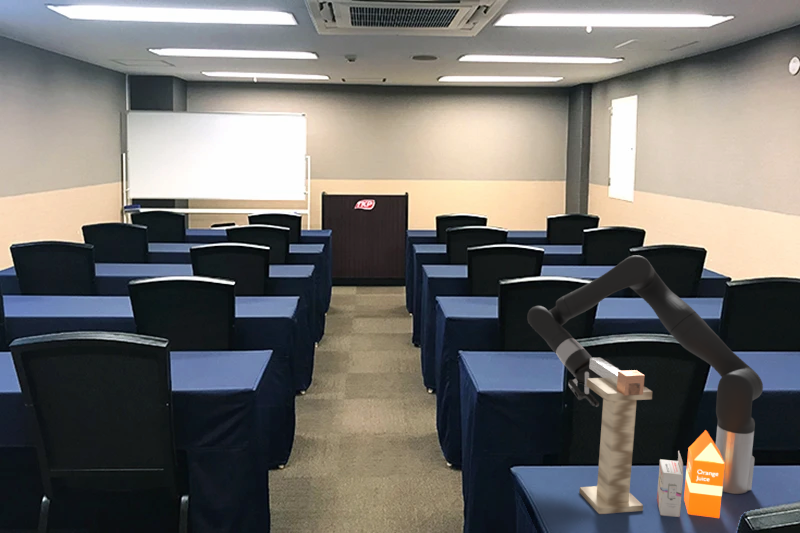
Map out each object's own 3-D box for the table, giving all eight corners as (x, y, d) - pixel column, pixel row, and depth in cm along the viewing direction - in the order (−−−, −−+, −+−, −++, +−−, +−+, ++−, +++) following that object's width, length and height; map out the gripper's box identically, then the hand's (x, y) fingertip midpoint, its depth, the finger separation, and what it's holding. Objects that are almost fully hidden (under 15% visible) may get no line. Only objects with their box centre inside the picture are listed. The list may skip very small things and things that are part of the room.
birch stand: (620, 489, 207) (629, 376, 201) (642, 510, 195) (652, 391, 190) (579, 492, 204) (586, 378, 199) (599, 514, 193) (607, 393, 187)
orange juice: (687, 514, 194) (694, 440, 190) (683, 498, 202) (689, 427, 199) (720, 518, 192) (727, 443, 189) (714, 502, 200) (721, 430, 197)
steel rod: (602, 367, 208) (604, 350, 208) (643, 394, 187) (644, 375, 186) (585, 368, 207) (587, 350, 207) (624, 395, 186) (625, 375, 185)
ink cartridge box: (655, 500, 201) (659, 447, 198) (675, 502, 200) (679, 449, 198) (659, 515, 193) (664, 461, 190) (680, 518, 192) (685, 463, 189)
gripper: (554, 362, 218) (590, 403, 208) (595, 338, 221) (632, 378, 210) (554, 376, 223) (589, 417, 213) (594, 352, 226) (630, 392, 216)
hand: (610, 397), depth 212 cm, fingers open, 8 cm apart
